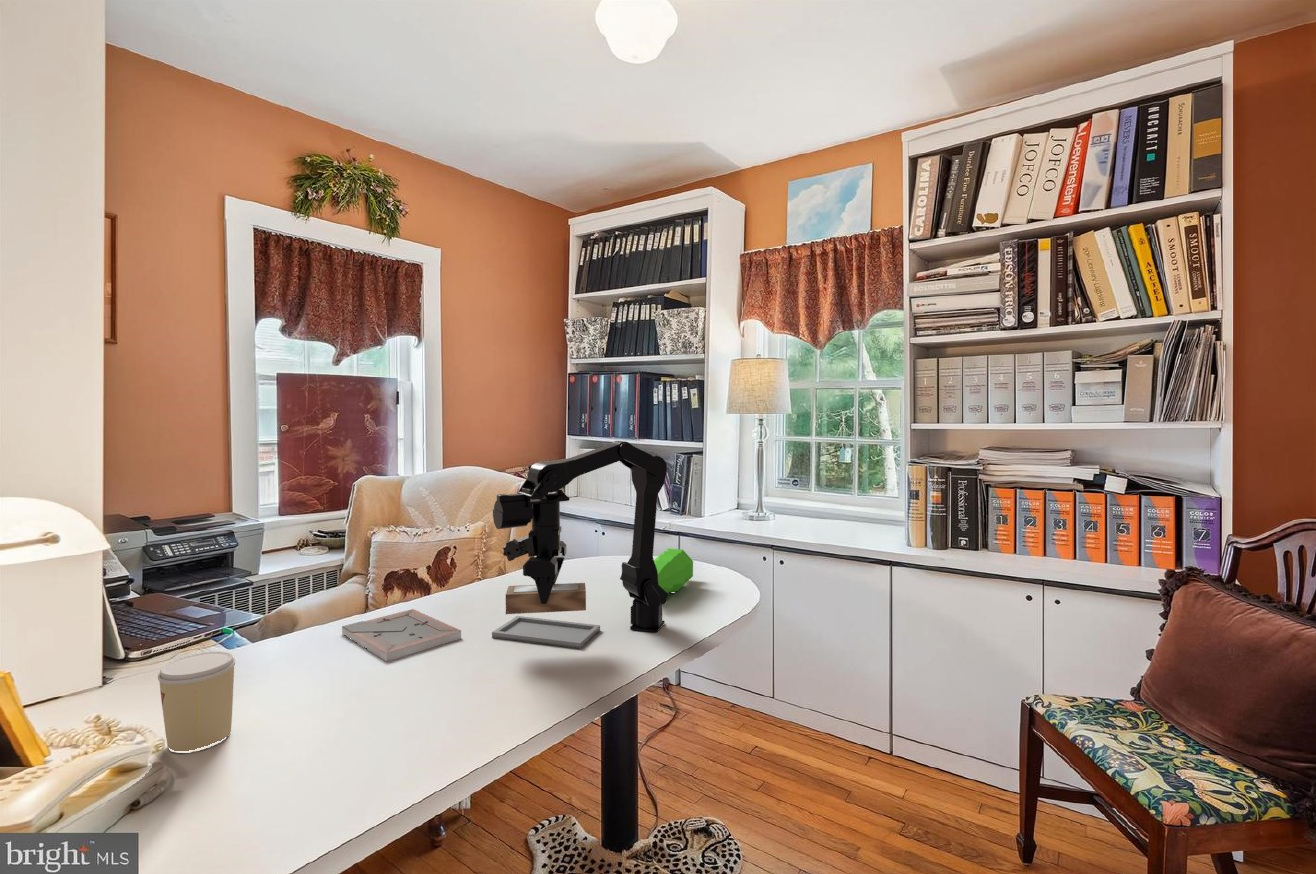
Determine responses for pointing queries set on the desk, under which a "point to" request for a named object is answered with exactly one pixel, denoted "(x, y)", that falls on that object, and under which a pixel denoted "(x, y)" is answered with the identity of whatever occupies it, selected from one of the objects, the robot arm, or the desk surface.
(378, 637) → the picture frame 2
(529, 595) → the wooden box
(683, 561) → the green faceted polyhedron
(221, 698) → the coffee cup
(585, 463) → the robot arm
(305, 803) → the desk surface
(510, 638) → the display tray
